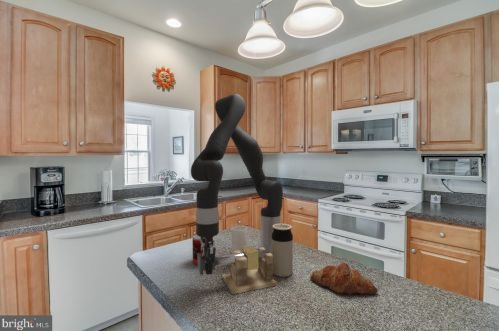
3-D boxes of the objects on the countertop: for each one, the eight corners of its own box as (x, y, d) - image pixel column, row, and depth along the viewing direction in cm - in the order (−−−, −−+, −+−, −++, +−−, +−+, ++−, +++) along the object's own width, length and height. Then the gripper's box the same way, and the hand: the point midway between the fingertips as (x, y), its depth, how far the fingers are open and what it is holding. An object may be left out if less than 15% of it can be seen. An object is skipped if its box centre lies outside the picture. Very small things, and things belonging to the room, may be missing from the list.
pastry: (332, 302, 77) (332, 277, 77) (308, 279, 92) (308, 257, 92) (378, 295, 81) (379, 270, 81) (348, 273, 96) (349, 253, 96)
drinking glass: (227, 265, 103) (227, 229, 102) (236, 259, 109) (236, 225, 108) (242, 269, 100) (242, 231, 99) (250, 262, 106) (250, 227, 105)
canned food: (213, 258, 110) (213, 233, 110) (208, 266, 102) (208, 239, 102) (196, 257, 111) (195, 232, 111) (190, 265, 103) (189, 238, 103)
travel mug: (292, 278, 92) (292, 229, 91) (270, 276, 93) (270, 228, 93) (292, 268, 100) (293, 223, 99) (272, 267, 101) (272, 222, 101)
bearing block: (262, 270, 98) (262, 245, 98) (276, 285, 87) (276, 256, 86) (222, 277, 92) (222, 250, 92) (231, 294, 81) (231, 263, 81)
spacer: (252, 261, 93) (252, 245, 93) (258, 268, 88) (258, 251, 87) (241, 263, 92) (241, 247, 92) (247, 270, 86) (247, 253, 86)
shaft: (259, 258, 94) (259, 245, 94) (265, 264, 89) (265, 250, 89) (197, 267, 86) (197, 253, 86) (200, 275, 81) (200, 259, 81)
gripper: (223, 224, 78) (224, 278, 79) (213, 214, 92) (214, 261, 92) (199, 227, 76) (200, 283, 76) (193, 216, 89) (193, 264, 90)
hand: (207, 270), depth 84 cm, fingers closed on shaft, 3 cm apart
